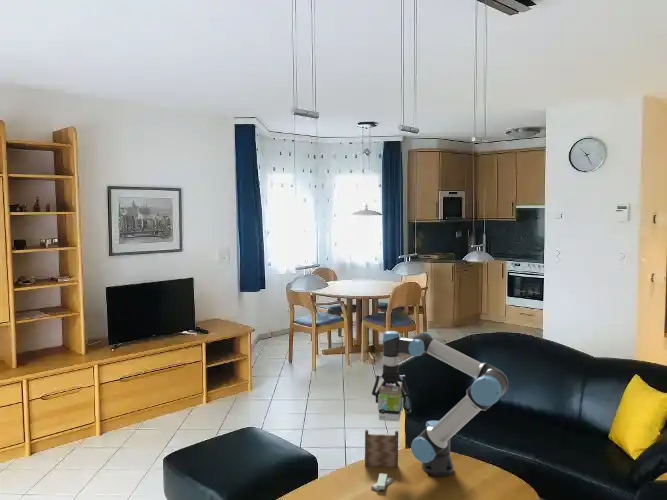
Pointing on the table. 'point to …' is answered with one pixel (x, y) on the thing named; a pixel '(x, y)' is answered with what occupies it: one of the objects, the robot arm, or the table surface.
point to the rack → (381, 449)
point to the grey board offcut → (389, 480)
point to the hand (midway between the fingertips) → (390, 409)
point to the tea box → (390, 402)
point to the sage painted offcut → (381, 481)
